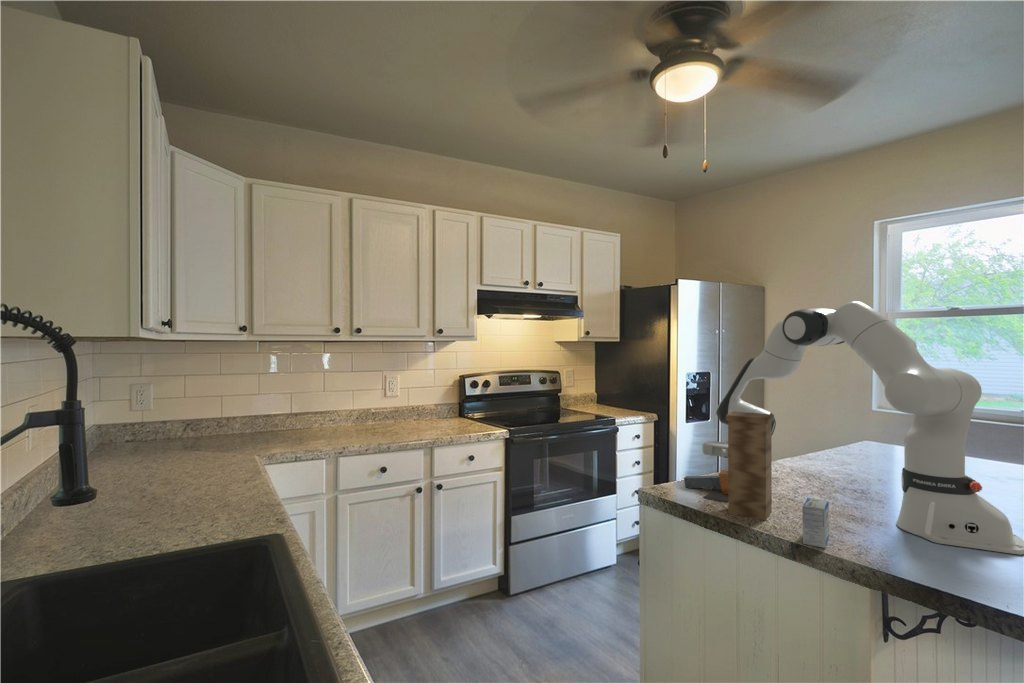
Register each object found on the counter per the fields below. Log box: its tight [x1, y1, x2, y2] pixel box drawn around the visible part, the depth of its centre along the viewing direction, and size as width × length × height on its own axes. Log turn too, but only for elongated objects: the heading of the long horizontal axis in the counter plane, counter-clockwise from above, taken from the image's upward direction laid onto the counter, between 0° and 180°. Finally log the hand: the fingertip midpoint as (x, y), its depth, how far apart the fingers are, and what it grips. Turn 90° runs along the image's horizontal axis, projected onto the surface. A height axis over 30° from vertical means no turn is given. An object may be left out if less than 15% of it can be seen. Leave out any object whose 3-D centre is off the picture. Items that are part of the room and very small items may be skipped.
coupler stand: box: [726, 412, 775, 521], centre depth 130 cm, size 10×9×26 cm
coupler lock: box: [683, 469, 728, 494], centre depth 149 cm, size 6×17×5 cm
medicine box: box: [801, 497, 830, 549], centre depth 111 cm, size 8×4×9 cm, turn 143°
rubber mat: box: [703, 488, 728, 503], centre depth 146 cm, size 9×16×1 cm, turn 143°
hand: (730, 455), depth 151 cm, fingers open, 2 cm apart
